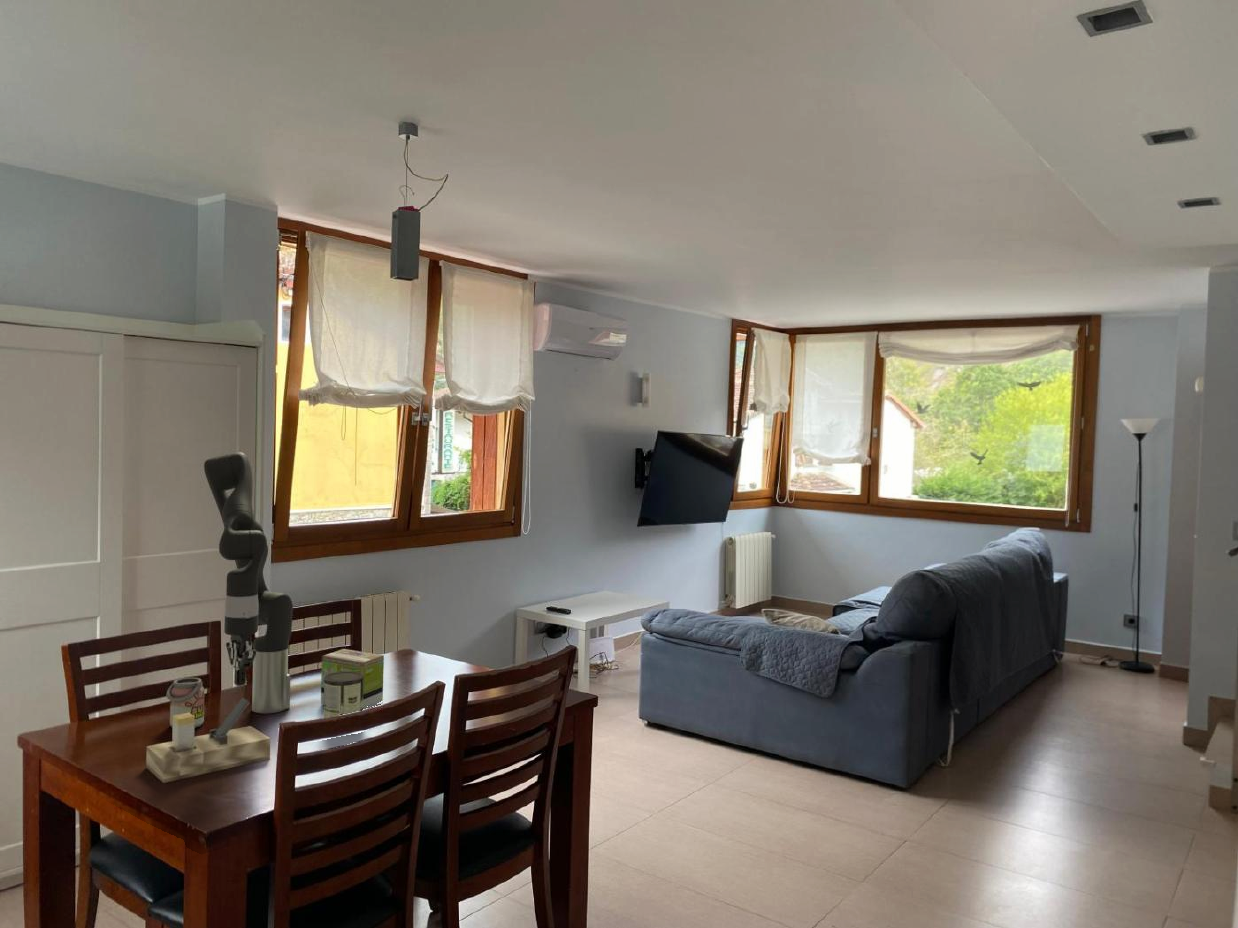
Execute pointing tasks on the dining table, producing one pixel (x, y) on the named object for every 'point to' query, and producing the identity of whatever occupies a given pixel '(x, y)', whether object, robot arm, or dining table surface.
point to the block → (208, 754)
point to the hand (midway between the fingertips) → (240, 684)
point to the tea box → (358, 663)
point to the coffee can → (343, 693)
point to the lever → (231, 718)
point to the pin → (183, 732)
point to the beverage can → (187, 699)
